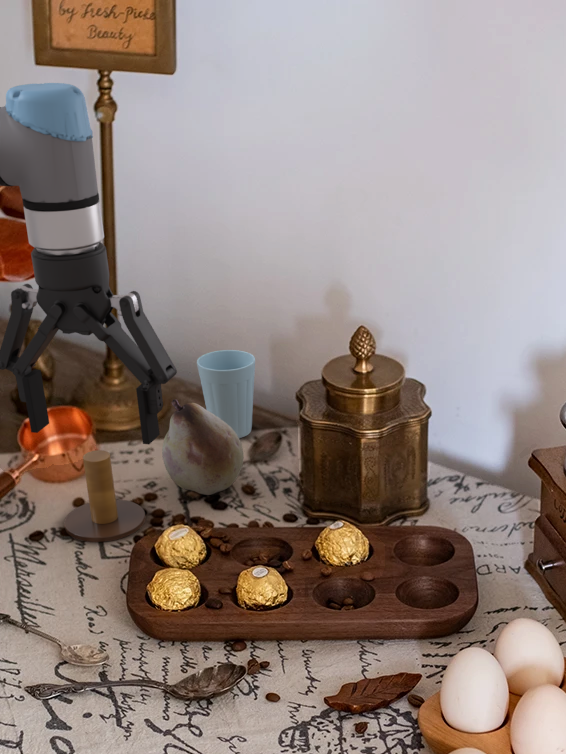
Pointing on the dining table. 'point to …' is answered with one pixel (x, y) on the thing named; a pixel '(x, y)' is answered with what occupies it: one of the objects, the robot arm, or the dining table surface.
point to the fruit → (201, 450)
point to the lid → (102, 505)
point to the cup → (229, 387)
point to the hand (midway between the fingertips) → (95, 433)
